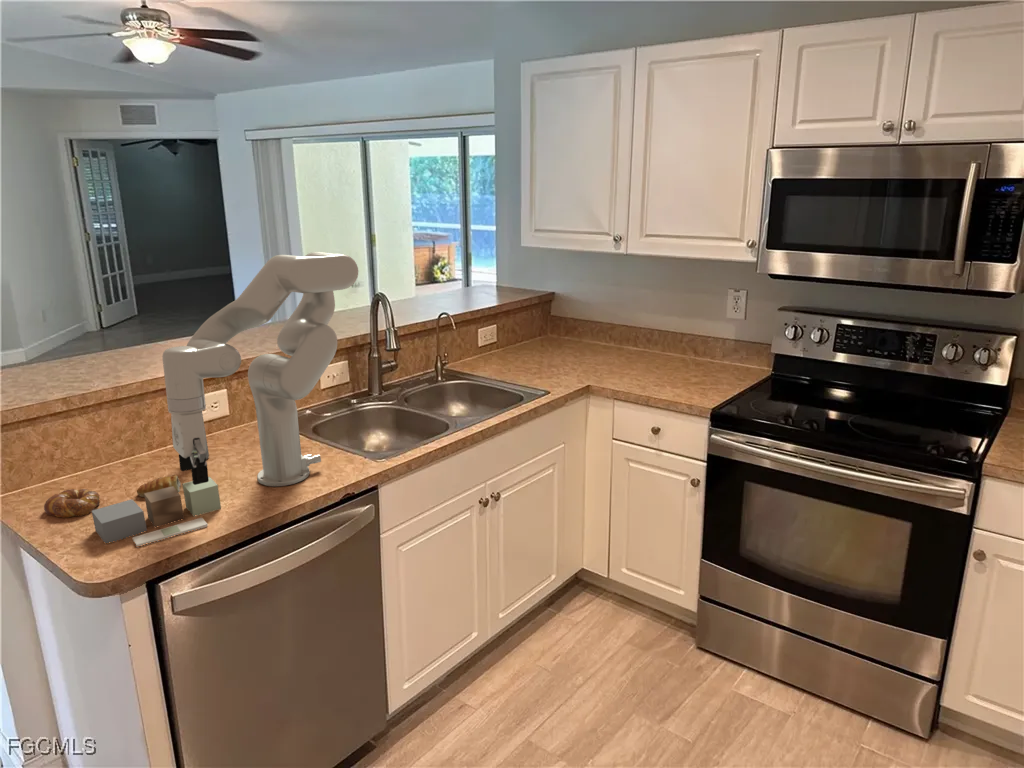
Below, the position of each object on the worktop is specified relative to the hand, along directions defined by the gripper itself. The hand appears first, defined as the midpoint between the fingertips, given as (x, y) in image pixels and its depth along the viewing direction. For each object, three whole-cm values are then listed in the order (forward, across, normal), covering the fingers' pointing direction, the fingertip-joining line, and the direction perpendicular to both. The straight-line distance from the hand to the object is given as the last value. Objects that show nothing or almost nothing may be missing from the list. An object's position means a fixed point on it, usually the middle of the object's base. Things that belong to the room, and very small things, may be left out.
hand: (194, 476), depth 159 cm
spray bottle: (+8, -31, +9) cm, 34 cm away
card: (+9, +8, -8) cm, 14 cm away
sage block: (+8, 0, +1) cm, 8 cm away
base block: (+9, 0, -16) cm, 18 cm away
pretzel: (+9, -19, -22) cm, 31 cm away
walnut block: (+9, 0, -7) cm, 11 cm away
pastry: (+9, -16, -4) cm, 18 cm away
